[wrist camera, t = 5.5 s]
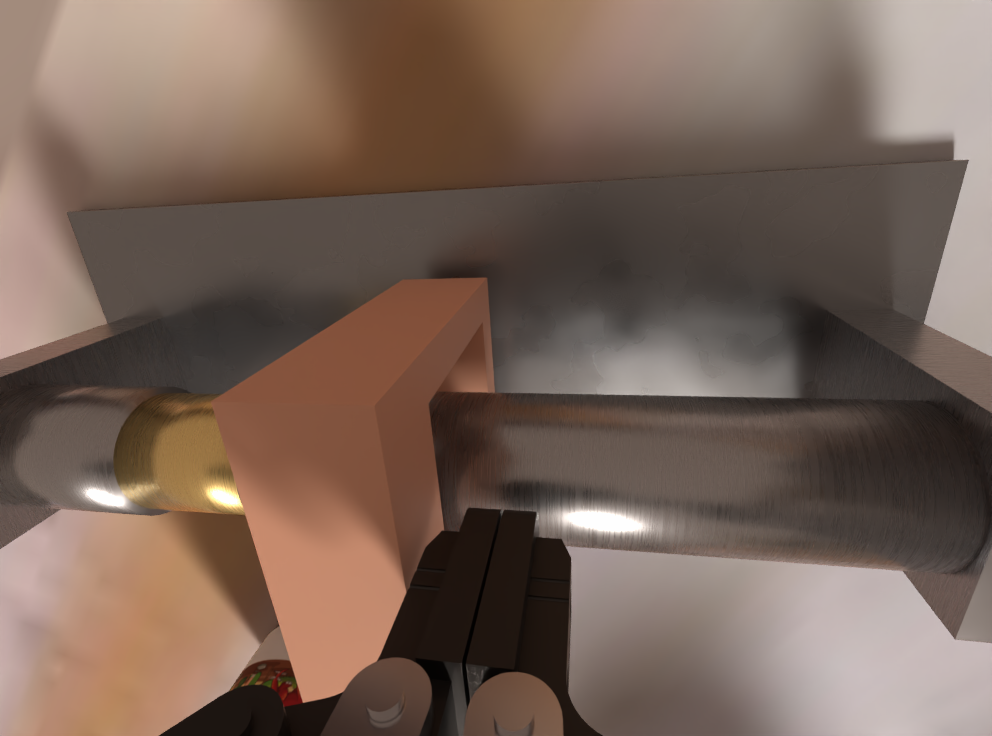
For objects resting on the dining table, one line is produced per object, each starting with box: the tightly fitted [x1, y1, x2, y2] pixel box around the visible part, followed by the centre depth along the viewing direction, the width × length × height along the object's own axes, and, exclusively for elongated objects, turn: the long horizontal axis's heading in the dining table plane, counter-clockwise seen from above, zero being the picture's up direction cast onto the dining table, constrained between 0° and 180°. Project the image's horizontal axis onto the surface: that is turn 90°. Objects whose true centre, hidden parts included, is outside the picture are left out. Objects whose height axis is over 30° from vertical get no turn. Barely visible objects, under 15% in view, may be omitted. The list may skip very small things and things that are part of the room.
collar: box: [211, 278, 495, 703], centre depth 14 cm, size 3×8×10 cm, turn 4°
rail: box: [0, 160, 992, 643], centre depth 16 cm, size 32×14×9 cm, turn 94°
